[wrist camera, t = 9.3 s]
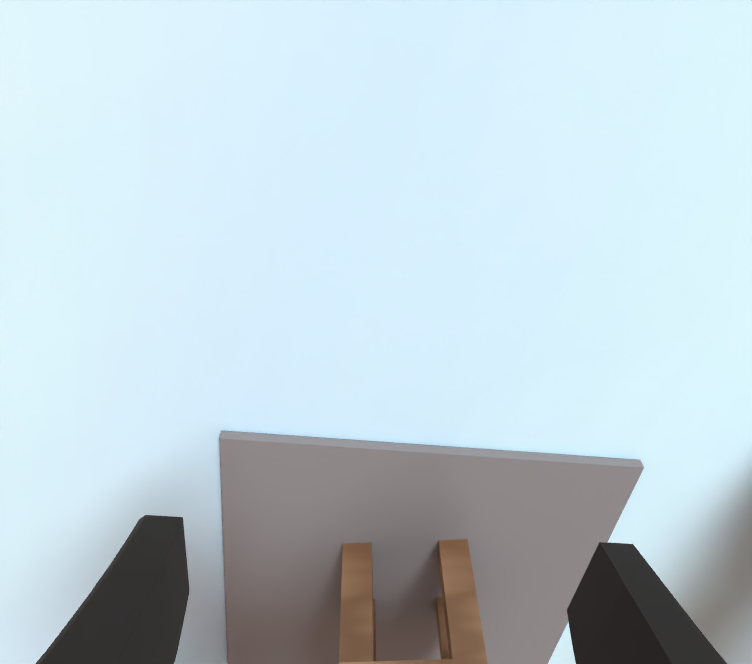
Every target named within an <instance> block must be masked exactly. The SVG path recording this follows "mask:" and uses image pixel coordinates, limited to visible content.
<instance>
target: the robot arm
mask: <svg viewBox="0 0 752 664" xmlns="http://www.w3.org/2000/svg"><path fill="white" fill-rule="evenodd" d="M188 595H189V581H188V570H187V559H186V548H185V537H184V526H183V517H168V516H151V515H145V516H144V517H142V518H141V519H139V521H138V522H137V524H136V526H135V527H134V529H133V531H132V532H131V534H130V535H129V537H128V539H127V540H126V542H125V543H124V545H123V546H122V548H121V549H120V551H119V552H118V554H117V555H116V557H115V558H114V560H113V561H112V563H111V564H110V566H109V567H108V569H107V570H106V571H105V573H104V574H103V576H102V577H101V578H100V580H99V581H98V583H97V584H96V586H95V587H94V588H93V590H92V591H91V593H90V594H89V595H88V597H87V598H86V599H85V601H84V602H83V603H82V605H81V606H80V607H79V609H78V610H77V611H76V613H75V614H74V615H73V617H72V618H71V619H70V621H69V622H68V623H67V625H66V626H65V627H64V629H63V630H62V631H61V633H60V634H59V635H58V637H57V638H56V639H55V640H54V642H53V643H52V644H51V646H50V647H49V648H48V649H47V651H46V652H45V653H44V654H43V655H42V657H41V658H40V659H39V660H38V661H37V663H36V664H174V661H175V657H176V654H177V650H178V645H179V640H180V635H181V630H182V626H183V621H184V615H185V610H186V605H187V600H188ZM567 615H568V621H569V627H570V633H571V639H572V645H573V650H574V655H575V661H576V664H727V663H726V662H725V661H724V660H723V658H722V657H721V656H720V655H719V653H718V652H717V651H716V650H715V649H714V647H713V646H712V645H711V644H710V642H709V641H708V640H707V639H706V637H705V636H704V635H703V634H702V632H701V631H700V630H699V629H698V627H697V626H696V625H695V624H694V622H693V621H692V620H691V618H690V617H689V616H688V615H687V613H686V612H685V611H684V610H683V608H682V607H681V606H680V604H679V603H678V602H677V601H676V599H675V598H674V597H673V595H672V594H671V593H670V591H669V590H668V589H667V588H666V586H665V585H664V584H663V582H662V581H661V580H660V578H659V577H658V576H657V575H656V573H655V572H654V571H653V569H652V568H651V567H650V566H649V564H648V563H647V562H646V560H645V559H644V558H643V557H642V555H641V554H640V553H639V551H638V550H637V549H636V548H635V546H634V545H633V544H621V543H604V542H599V544H598V546H597V548H596V550H595V552H594V554H593V556H592V559H591V561H590V563H589V565H588V567H587V569H586V571H585V573H584V575H583V577H582V579H581V581H580V583H579V586H578V588H577V590H576V592H575V594H574V596H573V598H572V600H571V602H570V604H569V606H568V608H567Z"/></svg>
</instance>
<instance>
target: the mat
mask: <svg viewBox="0 0 752 664" xmlns="http://www.w3.org/2000/svg"><path fill="white" fill-rule="evenodd" d="M219 440H220V467H221V494H222V521H223V547H224V574H225V601H226V628H227V654H228V664H339V645H340V614H341V584H342V553H343V543H369V542H372V559H373V599H375V612H376V661H402V660H433V659H441V656H440V646H439V636H438V627H437V617H436V600H437V597H442V589H441V580H440V571H439V562H438V545H439V540H458V539H468V545H469V551H470V558H471V564H472V570H473V576H474V582H475V588H476V594H477V600H478V607H479V613H480V619H481V625H482V631H483V637H484V643H485V649H486V656H487V662H488V664H548V662H549V659H550V657H551V655H552V653H553V651H554V649H555V647H556V645H557V643H558V641H559V639H560V637H561V635H562V633H563V631H564V629H565V627H566V625H567V623H568V615H567V608H568V606H569V604H570V602H571V600H572V598H573V596H574V594H575V592H576V590H577V588H578V586H579V583H580V581H581V579H582V577H583V575H584V573H585V571H586V569H587V567H588V565H589V563H590V561H591V559H592V556H593V554H594V552H595V550H596V548H597V546H598V544H599V542H604V543H607V542H608V540H609V538H610V536H611V534H612V531H613V529H614V527H615V525H616V523H617V521H618V519H619V517H620V515H621V513H622V511H623V509H624V507H625V505H626V503H627V501H628V499H629V497H630V495H631V493H632V491H633V489H634V487H635V485H636V483H637V481H638V479H639V477H640V475H641V473H642V471H643V468H644V467H643V465H642V463H641V461H640V460H632V459H618V458H603V457H589V456H575V455H561V454H546V453H532V452H518V451H503V450H489V449H475V448H461V447H446V446H432V445H418V444H404V443H389V442H375V441H361V440H346V439H332V438H318V437H304V436H289V435H275V434H261V433H247V432H232V431H221V434H220V438H219Z"/></svg>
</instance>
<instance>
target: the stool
mask: <svg viewBox="0 0 752 664" xmlns="http://www.w3.org/2000/svg"><path fill="white" fill-rule="evenodd" d="M438 562H439V571H440V580H441V589H442V597H437V600H436V617H437V627H438V636H439V646H440V656H441V659H433V660H402V661H376V612H375V599H373V559H372V542H369V543H343V553H342V584H341V614H340V645H339V664H488V662H487V656H486V649H485V643H484V637H483V631H482V625H481V619H480V613H479V607H478V600H477V594H476V588H475V582H474V576H473V570H472V564H471V558H470V551H469V545H468V539H458V540H439V545H438Z"/></svg>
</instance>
